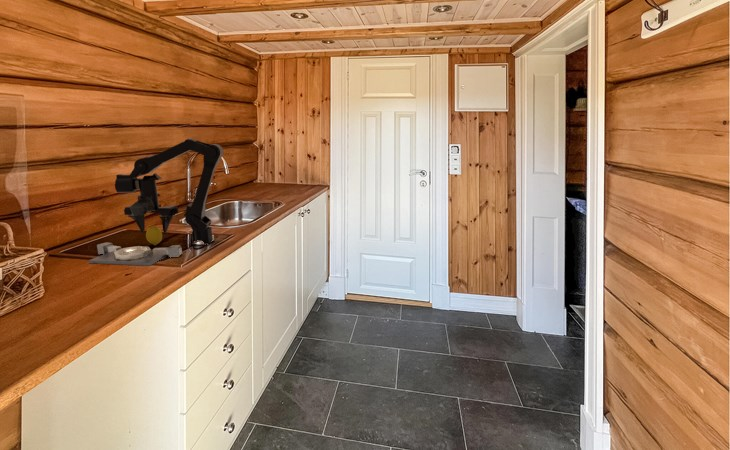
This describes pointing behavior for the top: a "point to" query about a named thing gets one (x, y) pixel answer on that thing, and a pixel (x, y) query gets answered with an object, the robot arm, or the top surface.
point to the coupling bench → (127, 262)
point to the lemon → (153, 235)
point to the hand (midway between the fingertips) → (154, 232)
